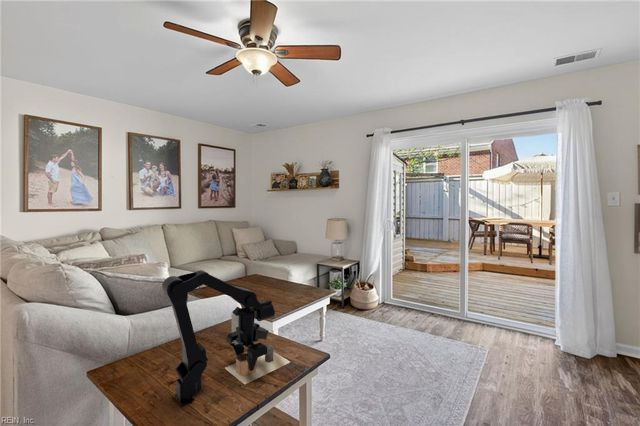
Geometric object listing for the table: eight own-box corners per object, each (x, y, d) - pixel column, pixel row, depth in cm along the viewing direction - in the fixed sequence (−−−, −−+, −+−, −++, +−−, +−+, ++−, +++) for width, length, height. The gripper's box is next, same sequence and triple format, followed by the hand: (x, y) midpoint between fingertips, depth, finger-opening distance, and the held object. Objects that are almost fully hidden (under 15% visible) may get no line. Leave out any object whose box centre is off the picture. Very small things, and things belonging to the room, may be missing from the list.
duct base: (244, 388, 100) (244, 369, 99) (224, 371, 109) (224, 354, 109) (290, 365, 114) (290, 349, 114) (269, 352, 124) (269, 337, 123)
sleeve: (243, 378, 103) (243, 363, 103) (233, 370, 108) (233, 356, 108) (259, 370, 108) (259, 356, 108) (249, 363, 113) (249, 350, 113)
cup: (227, 338, 136) (227, 312, 136) (240, 331, 143) (240, 307, 143) (241, 342, 132) (241, 316, 132) (253, 335, 139) (253, 310, 139)
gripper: (280, 325, 107) (280, 368, 107) (251, 311, 120) (251, 349, 120) (253, 335, 99) (253, 381, 99) (225, 319, 112) (226, 360, 112)
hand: (246, 366), depth 108 cm, fingers closed on sleeve, 7 cm apart
